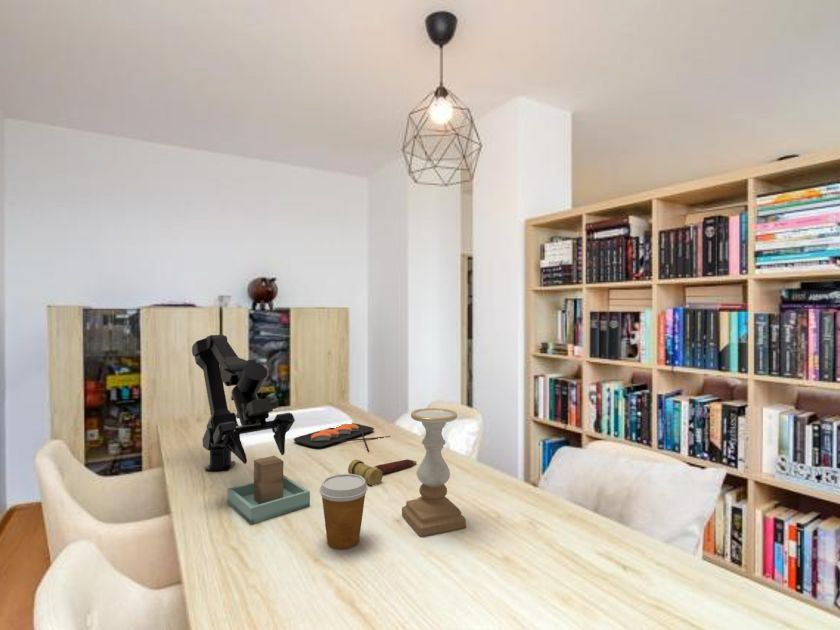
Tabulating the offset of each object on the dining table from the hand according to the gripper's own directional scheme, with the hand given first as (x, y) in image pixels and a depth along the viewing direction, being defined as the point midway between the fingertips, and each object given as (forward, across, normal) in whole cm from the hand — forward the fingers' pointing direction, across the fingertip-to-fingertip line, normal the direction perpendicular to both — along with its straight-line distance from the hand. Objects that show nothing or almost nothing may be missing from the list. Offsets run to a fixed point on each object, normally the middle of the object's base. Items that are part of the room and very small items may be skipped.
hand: (265, 458), depth 108 cm
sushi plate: (-12, +43, +28) cm, 53 cm away
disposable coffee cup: (+27, +4, -12) cm, 30 cm away
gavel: (+10, +35, +5) cm, 37 cm away
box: (+9, 0, +6) cm, 11 cm away
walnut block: (+8, 0, +5) cm, 10 cm away
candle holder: (+31, +24, -16) cm, 42 cm away
